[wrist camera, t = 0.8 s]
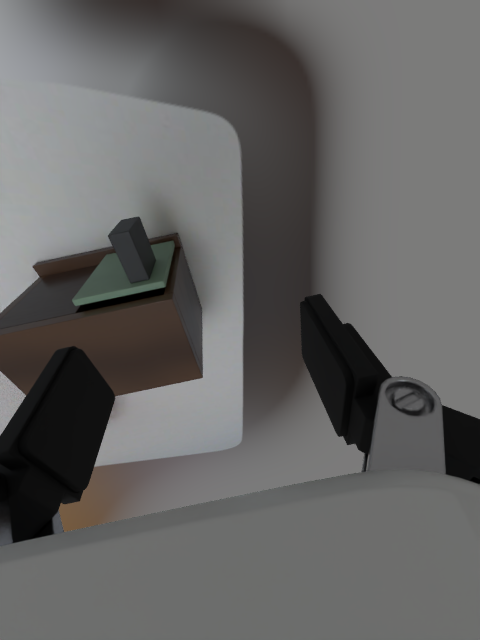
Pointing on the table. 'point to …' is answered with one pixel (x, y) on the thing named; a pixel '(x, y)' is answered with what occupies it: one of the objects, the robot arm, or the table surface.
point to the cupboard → (106, 326)
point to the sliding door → (128, 265)
